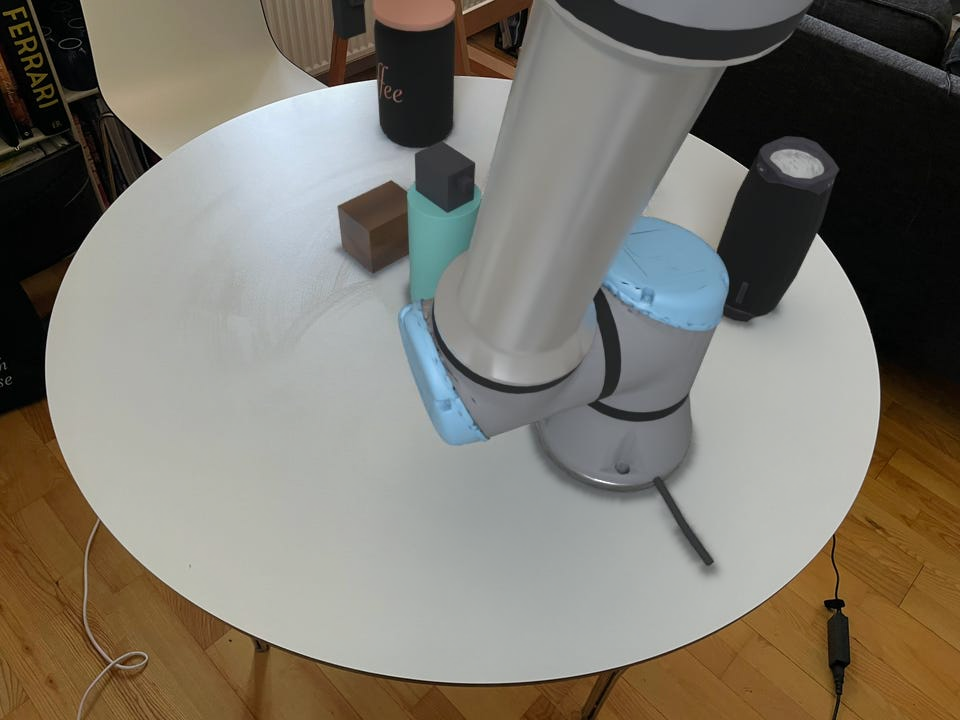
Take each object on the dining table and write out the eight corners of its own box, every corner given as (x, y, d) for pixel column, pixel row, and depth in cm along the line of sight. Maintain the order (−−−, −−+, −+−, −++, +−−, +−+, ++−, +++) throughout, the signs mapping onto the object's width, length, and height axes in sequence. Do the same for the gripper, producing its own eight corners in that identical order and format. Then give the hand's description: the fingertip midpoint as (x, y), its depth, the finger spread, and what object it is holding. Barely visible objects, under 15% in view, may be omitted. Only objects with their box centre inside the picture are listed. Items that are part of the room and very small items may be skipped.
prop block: (424, 245, 93) (423, 203, 89) (372, 273, 90) (369, 231, 85) (393, 222, 96) (391, 179, 91) (342, 248, 92) (337, 205, 88)
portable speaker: (731, 264, 94) (787, 122, 79) (794, 307, 89) (865, 165, 74) (685, 292, 90) (735, 148, 75) (749, 339, 85) (814, 195, 71)
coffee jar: (376, 112, 113) (368, -11, 100) (447, 108, 115) (449, -14, 101) (383, 153, 106) (376, 26, 93) (458, 148, 108) (462, 22, 94)
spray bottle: (477, 308, 91) (549, 240, 74) (429, 338, 88) (494, 274, 71) (408, 209, 92) (465, 119, 75) (358, 235, 88) (406, 147, 71)
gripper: (418, -264, 56) (422, 47, 73) (316, -294, 62) (342, 0, 80) (334, -253, 52) (359, 71, 70) (234, -286, 58) (281, 20, 76)
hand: (350, 33), depth 75 cm, fingers closed
